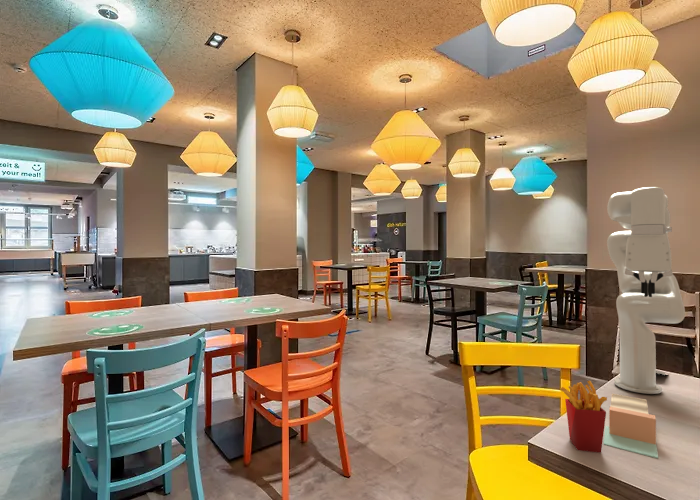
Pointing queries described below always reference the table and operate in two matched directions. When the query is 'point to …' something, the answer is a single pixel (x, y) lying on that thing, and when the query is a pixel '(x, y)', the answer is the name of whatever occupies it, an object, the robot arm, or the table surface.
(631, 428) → the card
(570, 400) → the french fries
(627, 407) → the sheet
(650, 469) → the table surface
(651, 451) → the mat
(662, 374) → the smartphone
